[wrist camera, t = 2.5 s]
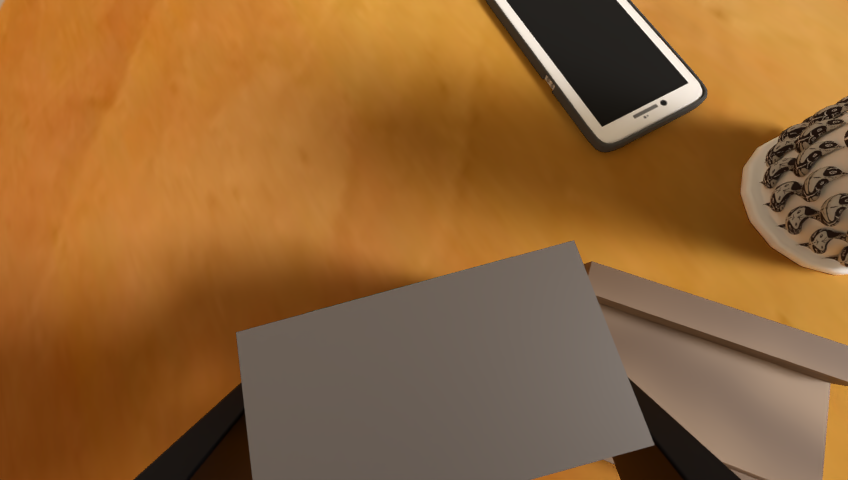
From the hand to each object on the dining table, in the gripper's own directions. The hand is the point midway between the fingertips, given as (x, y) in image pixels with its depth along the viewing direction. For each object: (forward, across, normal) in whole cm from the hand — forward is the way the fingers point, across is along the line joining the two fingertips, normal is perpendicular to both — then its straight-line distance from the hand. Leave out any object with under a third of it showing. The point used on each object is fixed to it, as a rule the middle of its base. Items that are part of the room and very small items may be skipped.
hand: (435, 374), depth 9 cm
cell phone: (+20, -10, -7) cm, 23 cm away
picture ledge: (+5, -12, +7) cm, 14 cm away
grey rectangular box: (+6, 0, +6) cm, 8 cm away
